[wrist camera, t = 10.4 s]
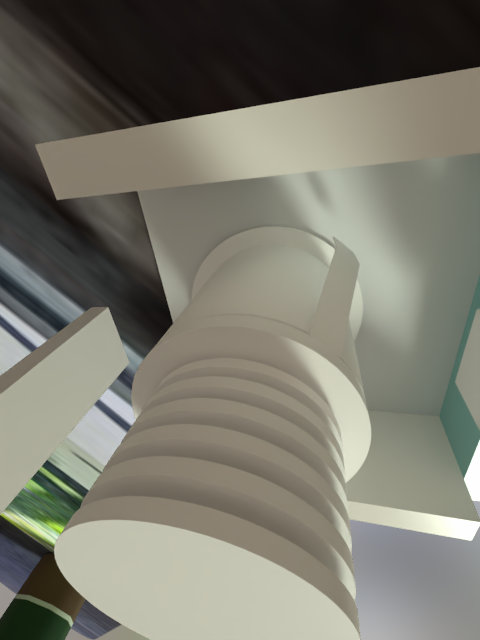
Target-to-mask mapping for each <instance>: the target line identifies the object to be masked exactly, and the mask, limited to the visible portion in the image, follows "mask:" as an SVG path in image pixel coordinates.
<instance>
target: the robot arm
mask: <svg viewBox="0 0 480 640" xmlns="http://www.w3.org/2000/svg"><path fill="white" fill-rule="evenodd" d="M128 364H129V360H128V358H127V355H126V353H125V350H124V347H123V345H122V342H121V339H120V337H119V334H118V332H117V329H116V326H115V324H114V321H113V319H112V316H111V313H110V311H109V308H108V307H92V308H90V309H89V310H88V311H86V312H85V313H84V314H82V315H81V316H80V317H78V318H77V319H76V320H74V321H73V322H72V323H70V324H69V325H68V326H66V327H65V328H64V329H62V330H61V331H60V332H58V333H57V334H56V335H54V336H53V337H52V338H50V339H49V340H48V341H46V342H45V343H44V344H42V345H41V346H40V347H38V348H37V349H36V350H34V351H33V352H32V353H30V354H29V355H28V356H26V357H25V358H24V359H22V360H21V361H20V362H18V363H17V364H16V365H14V366H13V367H12V368H10V369H9V370H8V371H6V372H5V373H4V374H2V375H1V376H0V514H1V513H2V512H3V511H4V510H5V508H6V507H7V506H8V505H9V504H10V503H11V501H12V500H13V499H14V498H15V497H16V495H17V494H18V493H19V492H20V491H21V490H22V488H23V487H24V486H25V485H26V484H27V483H28V481H29V480H30V479H31V478H32V477H33V476H34V474H35V473H36V472H37V471H38V470H39V468H40V467H41V466H42V465H43V464H44V463H45V461H46V460H47V459H48V458H49V457H50V456H51V454H52V453H53V452H54V451H55V450H56V448H57V447H58V446H59V445H60V444H61V443H62V441H63V440H64V439H65V438H66V437H67V436H68V434H69V433H70V432H71V431H72V430H73V429H74V427H75V426H76V425H77V424H78V423H79V421H80V420H81V419H82V418H83V417H84V416H85V414H86V413H87V412H88V411H89V410H90V409H91V407H92V406H93V405H94V404H95V403H96V401H97V400H98V399H99V398H100V397H101V396H102V394H103V393H104V392H105V391H106V390H107V389H108V387H109V386H110V385H111V384H112V383H113V381H114V380H115V379H116V378H117V377H118V376H119V374H120V373H121V372H122V371H123V370H124V369H125V367H126V366H127V365H128ZM455 383H456V385H457V387H458V389H459V391H460V393H461V395H462V397H463V399H464V401H465V403H466V405H467V407H468V409H469V411H470V413H471V415H472V417H473V418H474V420H475V422H476V424H477V426H478V428H479V430H480V309H477V310H476V313H475V317H474V320H473V323H472V327H471V330H470V333H469V337H468V340H467V344H466V347H465V350H464V354H463V357H462V360H461V364H460V367H459V370H458V374H457V377H456V380H455Z"/></svg>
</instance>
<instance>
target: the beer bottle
mask: <svg viewBox="0 0 480 640" xmlns="http://www.w3.org/2000/svg"><path fill="white" fill-rule="evenodd" d="M84 601H85V598H84V597H83V596H82V595H81V594H80V593H78V592H77V591H76V590H75V589H74V588H73V586H72V585H71V584H70V583H69V582H68V581H67V579H66V578H65V577H64V575H63V574H62V572H61V571H60V569H59V567H58V565H57V563H56V560H55V555H54V553H46V554H45V555H44V556H43V557H42V559H41V560H40V561H39V563H38V564H37V565H36V567H35V568H34V570H33V571H32V572H31V574H30V575H29V577H28V578H27V580H26V581H25V583H24V584H23V586H22V587H21V589H20V590H19V592H18V593H17V595H16V596H15V598H14V599H13V601H12V602H11V604H10V606H9V607H8V608H7V610H6V611H5V613H4V614H3V616H2V617H1V619H0V640H65V638H66V636H67V634H68V632H69V630H70V628H71V626H72V624H73V623H74V621H75V619H76V617H77V615H78V613H79V611H80V609H81V607H82V605H83V603H84Z"/></svg>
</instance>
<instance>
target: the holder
mask: <svg viewBox="0 0 480 640" xmlns="http://www.w3.org/2000/svg"><path fill="white" fill-rule="evenodd" d="M35 146H36V149H37V151H38V154H39V156H40V159H41V161H42V164H43V166H44V169H45V171H46V174H47V176H48V179H49V181H50V184H51V186H52V189H53V191H54V194H55V196H56V199H57V200H61V199H70V198H79V197H88V196H97V195H106V194H115V193H124V192H133V191H137V192H138V196H139V199H140V203H141V207H142V210H143V214H144V218H145V222H146V225H147V229H148V233H149V236H150V240H151V244H152V247H153V251H154V255H155V258H156V262H157V266H158V269H159V273H160V277H161V280H162V284H163V288H164V291H165V295H166V299H167V302H168V306H169V310H170V313H171V317H172V321H173V323H174V322H175V321H176V319H177V318H178V317H179V316H180V314H181V313H182V312H183V311H184V309H185V308H186V307H187V306H188V304H189V303H190V302H191V301H192V289H193V284H194V280H195V277H196V275H197V272H198V270H199V268H200V266H201V265H202V263H203V261H204V260H205V259H206V257H207V256H208V255H209V254H210V253H211V252H212V251H213V250H214V249H215V248H216V247H217V246H218V245H219V244H220V243H222V242H223V241H225V240H226V239H228V238H229V237H231V236H233V235H235V234H237V233H240V232H242V231H245V230H248V229H252V228H257V227H264V226H283V227H291V228H295V229H299V230H302V231H305V232H308V233H311V234H313V235H315V236H317V237H319V238H321V239H322V240H324V241H326V242H327V243H328V244H330V245H331V246H333V247H334V248H336V246H335V243H334V240H333V236H334V237H335V238H337V239H338V240H339V241H340V242H341V243H343V244H344V245H345V246H346V247H348V248H349V249H350V250H351V251H353V252H354V254H355V256H356V258H357V260H358V262H359V264H360V265H359V270H358V275H357V280H358V282H359V286H360V289H361V293H362V299H363V316H362V322H361V326H360V329H359V332H358V334H357V336H356V339H355V340H354V345H355V350H356V355H357V360H358V365H359V370H360V375H361V380H362V385H363V390H364V395H365V400H366V405H367V410H368V414H369V419H370V424H371V443H370V448H369V451H368V454H367V457H366V459H365V461H364V463H363V464H362V466H361V468H360V469H359V470H358V471H357V473H356V474H355V475H354V476H353V477H352V478H351V479H350V480H349V481H347V482H346V483H345V484H346V489H347V499H348V517H349V519H352V520H358V521H363V522H369V523H375V524H380V525H385V526H391V527H397V528H403V529H409V530H414V531H419V532H425V533H431V534H437V535H442V536H448V537H454V538H459V539H465V540H472V539H473V537H474V535H475V533H476V531H477V529H478V527H479V525H480V519H479V516H478V514H477V511H476V509H475V506H474V504H473V501H472V500H474V501H480V430H479V428H478V426H477V424H476V422H475V420H474V418H473V417H472V415H471V413H470V411H469V409H468V407H467V405H466V403H465V401H464V399H463V397H462V395H461V393H460V391H459V389H458V387H457V385H456V383H455V380H456V377H457V374H458V370H459V367H460V364H461V360H462V357H463V354H464V350H465V347H466V344H467V340H468V337H469V333H470V330H471V327H472V323H473V320H474V317H475V313H476V310H477V309H480V67H477V68H471V69H466V70H460V71H454V72H448V73H443V74H437V75H431V76H426V77H420V78H414V79H408V80H403V81H397V82H391V83H385V84H380V85H374V86H368V87H363V88H357V89H351V90H345V91H340V92H334V93H328V94H322V95H317V96H311V97H305V98H300V99H294V100H288V101H282V102H277V103H271V104H265V105H259V106H254V107H248V108H242V109H236V110H231V111H225V112H219V113H214V114H208V115H202V116H196V117H191V118H185V119H179V120H173V121H168V122H162V123H156V124H151V125H145V126H139V127H133V128H128V129H122V130H116V131H110V132H105V133H99V134H93V135H88V136H82V137H76V138H70V139H65V140H59V141H53V142H47V143H42V144H36V145H35Z"/></svg>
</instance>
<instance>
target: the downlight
mask: <svg viewBox="0 0 480 640" xmlns="http://www.w3.org/2000/svg"><path fill="white" fill-rule="evenodd" d="M333 240H334V243H335V246H336V248H334V247H333V246H331V245H330V244H328V243H327V242H326V241H324V240H322V239H321V238H319V237H317V236H315V235H313V234H311V233H308V232H305V231H302V230H299V229H295V228H291V227H283V226H264V227H257V228H252V229H248V230H245V231H242V232H240V233H237V234H235V235H233V236H231V237H229V238H228V239H226V240H225V241H223V242H222V243H220V244H219V245H218V246H217V247H216V248H215V249H214V250H213V251H212V252H211V253H210V254H209V255H208V256H207V257H206V259H205V260H204V261H203V263H202V265H201V266H200V268H199V270H198V272H197V275H196V277H195V280H194V284H193V289H192V301H191V302H190V303H189V304H188V306H187V307H186V308H185V309H184V311H183V312H182V313H181V314H180V316H179V317H178V318H177V319H176V321H175V322H174V323H173V324H172V326H171V327H170V328H169V329H168V331H167V332H166V333H165V334H164V335H163V337H162V338H161V339H160V340H159V342H158V343H157V344H156V345H155V347H154V348H153V349H152V350H151V351H150V353H149V354H148V355H147V356H146V358H145V359H144V360H143V361H142V363H141V364H140V366H139V368H138V370H137V372H136V374H135V377H134V381H133V385H132V406H133V411H134V415H135V418H136V421H135V422H134V423H133V425H132V426H131V428H130V429H129V431H128V432H127V434H126V436H125V437H124V439H123V440H122V442H121V444H120V446H119V447H118V448H117V449H116V451H115V452H114V454H113V455H112V457H111V458H110V460H109V461H108V463H107V464H106V466H105V468H104V470H103V472H102V474H101V475H100V476H99V477H98V478H97V480H96V481H95V483H94V484H93V486H92V487H91V489H90V490H89V492H88V493H87V495H86V496H85V498H84V499H83V501H82V504H81V507H80V509H79V510H78V511H77V512H76V513H75V514H74V515H73V516H72V518H71V519H70V521H69V522H68V524H67V525H66V527H65V528H64V530H63V531H62V533H61V535H60V536H59V538H58V539H57V541H56V543H55V547H54V555H55V560H56V563H57V565H58V567H59V569H60V571H61V572H62V574H63V575H64V577H65V578H66V579H67V581H68V582H69V583H70V584H71V585H72V586H73V588H74V589H75V590H76V591H77V592H78V593H80V594H81V595H82V596H83V597H84V598H85V599H86V600H88V601H89V602H90V603H91V604H93V605H94V606H95V607H96V608H98V609H99V610H101V611H102V612H103V613H105V614H106V615H108V616H109V617H111V618H113V619H114V620H116V621H117V622H119V623H121V624H122V625H124V626H126V627H128V628H129V629H131V630H133V631H135V632H137V633H139V634H141V635H143V636H145V637H147V638H149V639H151V640H360V630H359V619H358V610H357V607H356V604H355V601H354V600H355V595H356V587H355V575H354V566H353V559H352V556H351V550H352V543H351V533H350V522H349V517H348V499H347V489H346V484H345V483H346V482H347V481H349V480H350V479H351V478H352V477H353V476H354V475H355V474H356V473H357V471H358V470H359V469H360V468H361V466H362V464H363V463H364V461H365V459H366V457H367V454H368V451H369V448H370V443H371V424H370V419H369V414H368V410H367V405H366V400H365V395H364V390H363V385H362V380H361V375H360V370H359V365H358V360H357V355H356V350H355V345H354V340H355V339H356V336H357V334H358V332H359V329H360V326H361V322H362V316H363V299H362V293H361V289H360V286H359V282H358V280H357V275H358V270H359V265H360V264H359V262H358V260H357V258H356V256H355V254H354V252H353V251H351V250H350V249H349V248H348V247H346V246H345V245H344V244H343V243H341V242H340V241H339V240H338V239H337V238H335V237H334V236H333Z"/></svg>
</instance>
